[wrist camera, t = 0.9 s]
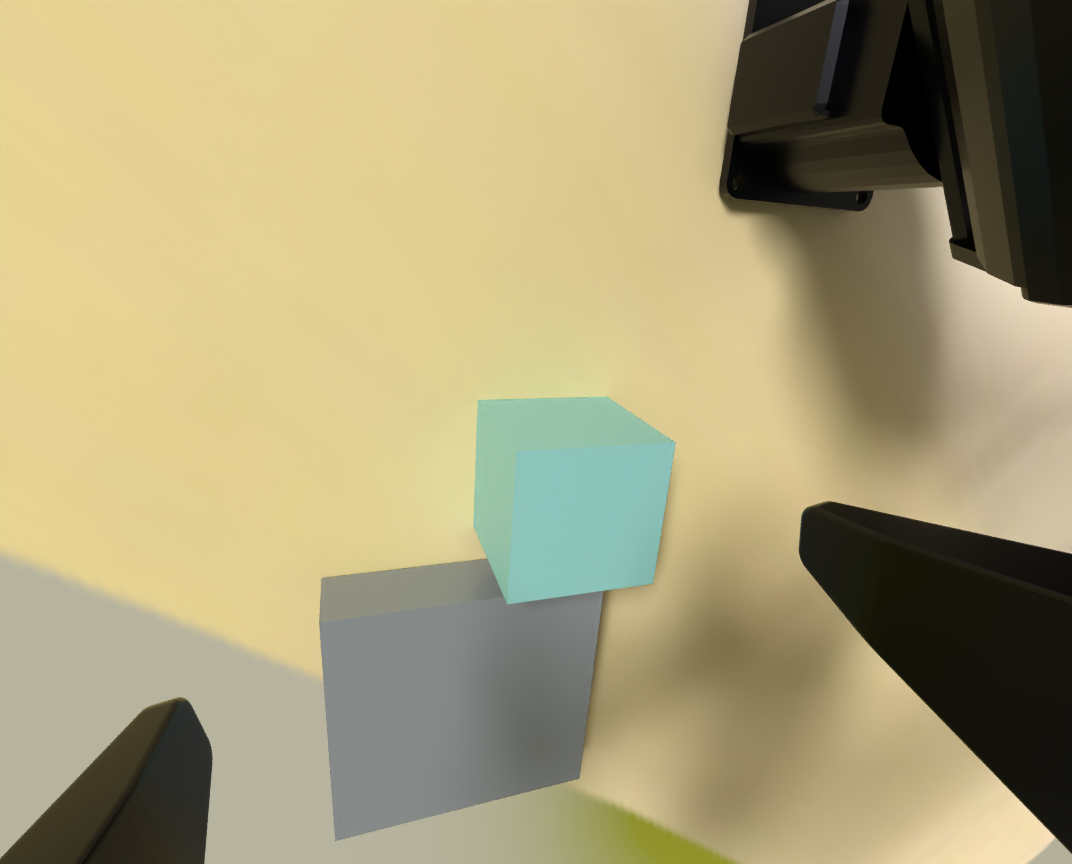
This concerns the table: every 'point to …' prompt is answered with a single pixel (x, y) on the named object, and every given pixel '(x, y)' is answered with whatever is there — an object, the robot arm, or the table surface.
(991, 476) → the table surface
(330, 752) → the tile
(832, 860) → the table surface
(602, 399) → the cube
